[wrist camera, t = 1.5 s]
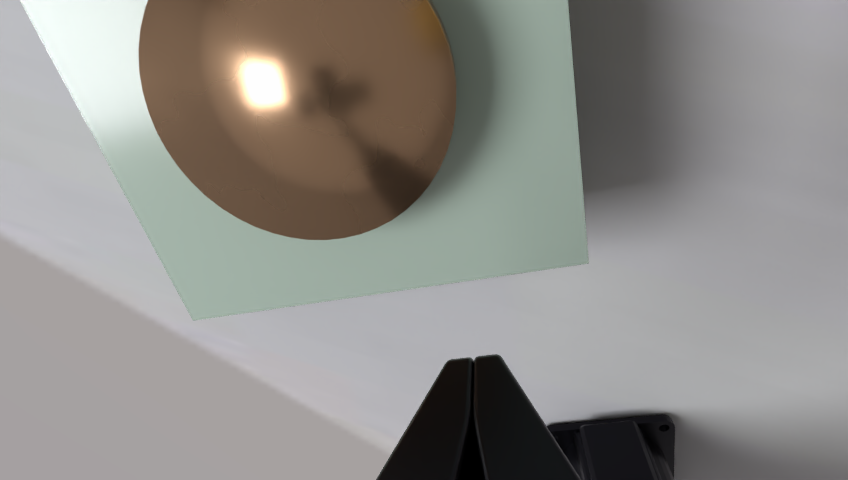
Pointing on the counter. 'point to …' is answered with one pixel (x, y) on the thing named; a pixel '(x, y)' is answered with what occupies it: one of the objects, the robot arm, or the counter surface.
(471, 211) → the base
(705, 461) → the counter surface
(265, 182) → the copper round dome
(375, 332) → the counter surface
